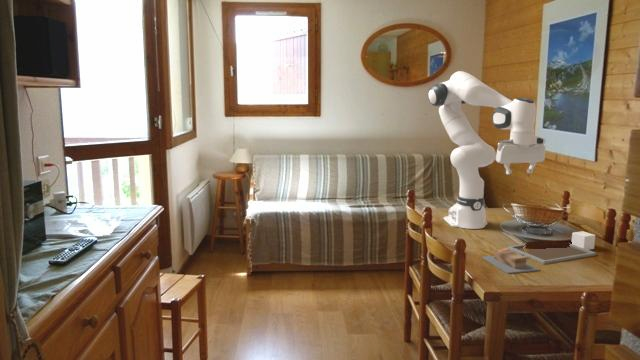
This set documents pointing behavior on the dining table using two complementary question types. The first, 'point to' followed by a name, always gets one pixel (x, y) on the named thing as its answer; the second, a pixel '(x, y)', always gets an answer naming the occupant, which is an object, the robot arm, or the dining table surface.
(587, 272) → the dining table surface
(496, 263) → the rubber mat
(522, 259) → the tan rectangular block
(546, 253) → the flat tray
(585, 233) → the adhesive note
